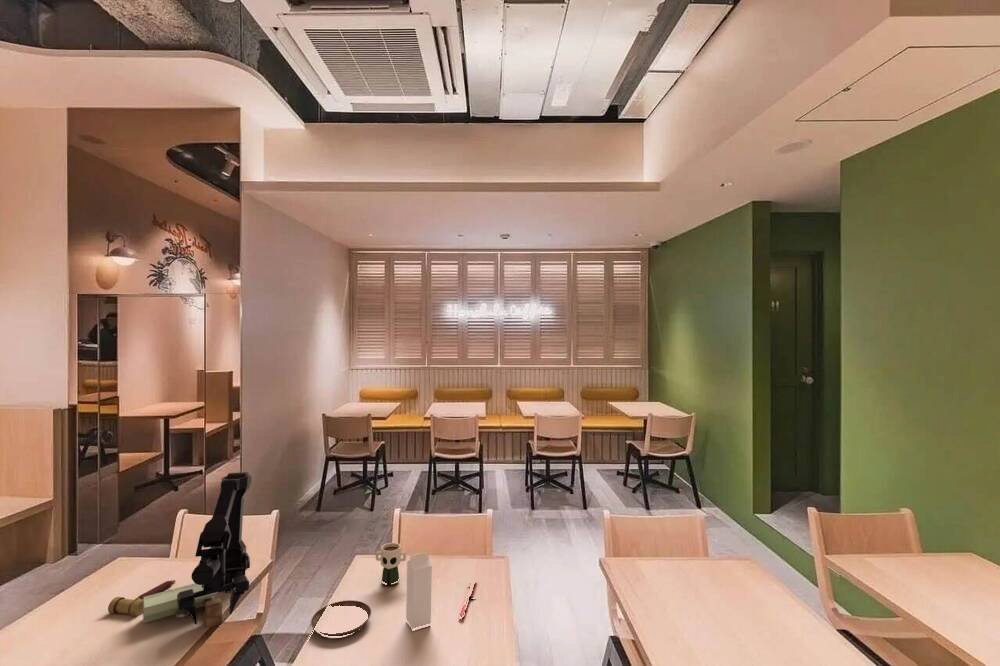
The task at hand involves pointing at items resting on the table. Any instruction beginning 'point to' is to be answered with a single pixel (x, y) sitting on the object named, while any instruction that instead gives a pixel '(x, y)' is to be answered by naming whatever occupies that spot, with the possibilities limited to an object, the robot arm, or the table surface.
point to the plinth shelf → (168, 602)
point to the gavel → (135, 601)
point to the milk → (419, 590)
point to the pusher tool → (213, 612)
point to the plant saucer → (342, 603)
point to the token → (182, 614)
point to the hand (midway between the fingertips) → (213, 618)
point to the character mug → (390, 561)
